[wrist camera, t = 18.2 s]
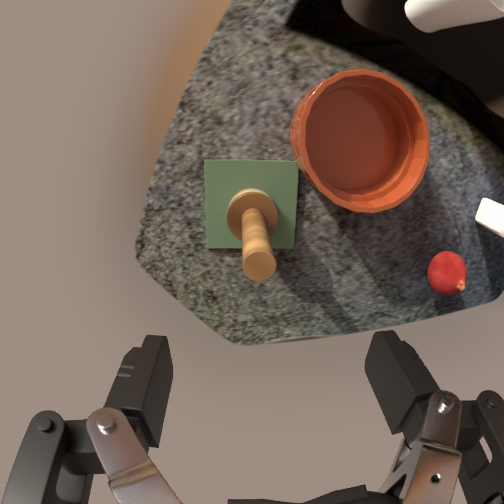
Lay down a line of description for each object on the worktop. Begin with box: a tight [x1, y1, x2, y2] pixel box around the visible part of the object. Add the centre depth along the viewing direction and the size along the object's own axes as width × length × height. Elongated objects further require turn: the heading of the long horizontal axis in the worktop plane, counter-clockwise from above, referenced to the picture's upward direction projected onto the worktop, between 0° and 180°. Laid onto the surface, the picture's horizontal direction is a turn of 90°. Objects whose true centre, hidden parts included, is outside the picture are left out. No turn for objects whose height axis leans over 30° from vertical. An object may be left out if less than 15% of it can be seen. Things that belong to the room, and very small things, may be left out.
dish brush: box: [227, 188, 279, 281], centre depth 26 cm, size 5×5×14 cm
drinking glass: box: [405, 0, 504, 33], centre depth 16 cm, size 7×7×15 cm
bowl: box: [290, 69, 430, 213], centre depth 27 cm, size 14×14×6 cm
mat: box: [205, 160, 299, 249], centre depth 32 cm, size 10×10×1 cm
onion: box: [427, 251, 467, 295], centre depth 32 cm, size 6×6×8 cm
